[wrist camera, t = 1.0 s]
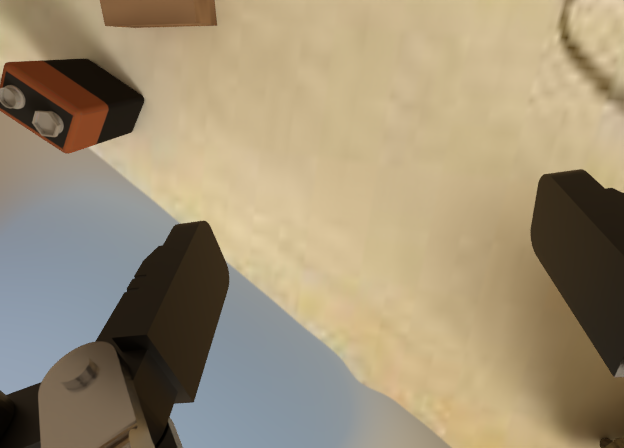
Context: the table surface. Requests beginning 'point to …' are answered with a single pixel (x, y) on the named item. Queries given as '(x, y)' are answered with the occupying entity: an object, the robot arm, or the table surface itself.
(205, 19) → the base brick
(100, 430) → the robot arm
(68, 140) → the battery
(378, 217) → the table surface
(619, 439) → the grey brown tall figure
